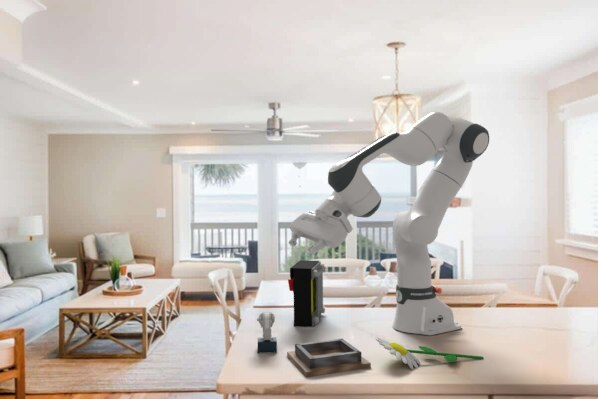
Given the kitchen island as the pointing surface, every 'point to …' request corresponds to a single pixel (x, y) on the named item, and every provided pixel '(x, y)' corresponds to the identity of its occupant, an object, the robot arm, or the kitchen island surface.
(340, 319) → the kitchen island surface
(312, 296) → the electrical component
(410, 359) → the decorative flower
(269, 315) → the watch
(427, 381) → the kitchen island surface
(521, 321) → the kitchen island surface
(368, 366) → the dock
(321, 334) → the kitchen island surface
